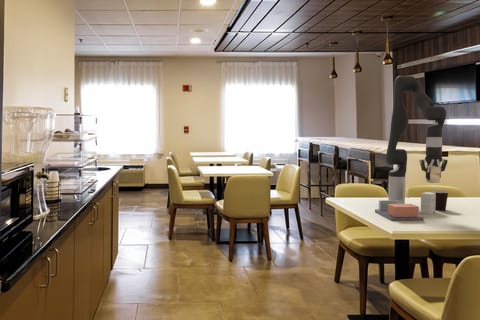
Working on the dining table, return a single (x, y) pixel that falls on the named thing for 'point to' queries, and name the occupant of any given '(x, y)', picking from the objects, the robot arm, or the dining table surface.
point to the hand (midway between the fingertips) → (432, 179)
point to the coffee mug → (440, 200)
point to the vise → (384, 212)
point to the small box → (428, 202)
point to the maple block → (434, 175)
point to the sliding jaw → (403, 210)
